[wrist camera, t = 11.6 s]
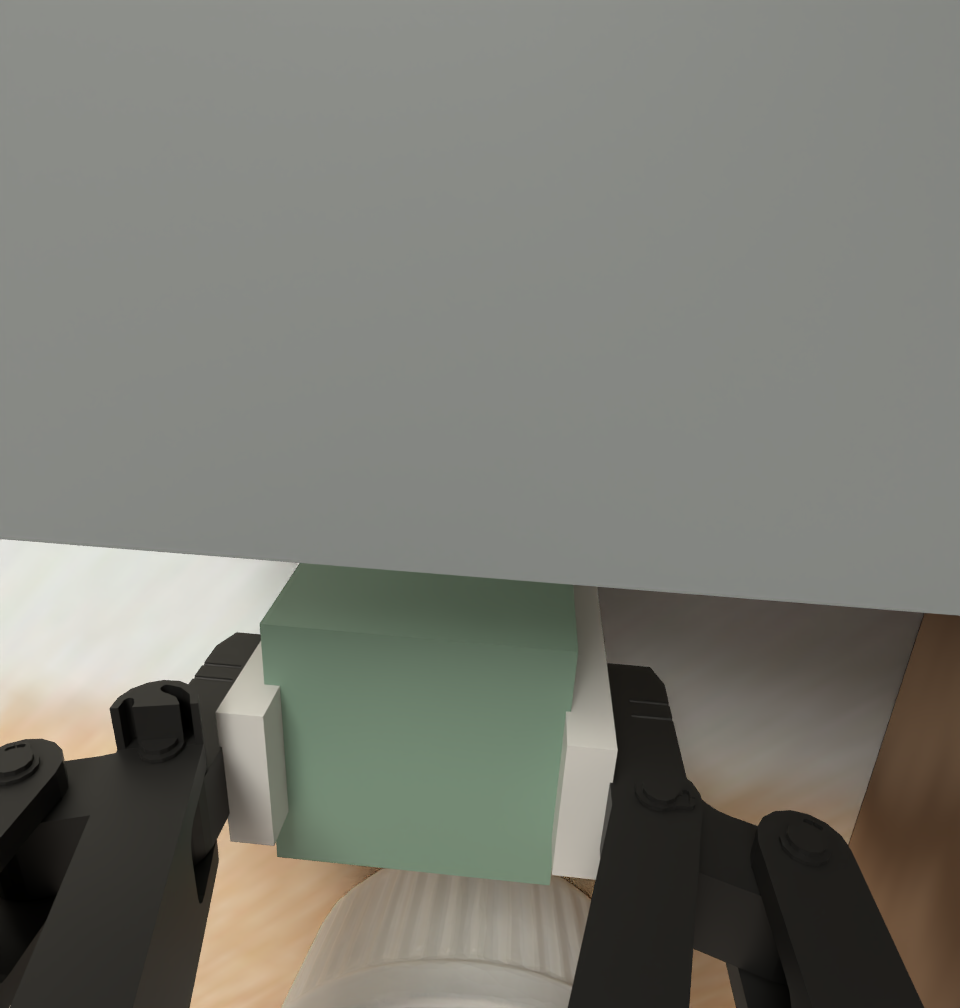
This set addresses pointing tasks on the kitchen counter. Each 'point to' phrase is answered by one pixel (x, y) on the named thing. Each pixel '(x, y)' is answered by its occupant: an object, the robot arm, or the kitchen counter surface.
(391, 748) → the block
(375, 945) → the ramekin
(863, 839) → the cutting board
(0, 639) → the kitchen counter surface
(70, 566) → the kitchen counter surface
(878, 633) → the kitchen counter surface
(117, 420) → the lid
